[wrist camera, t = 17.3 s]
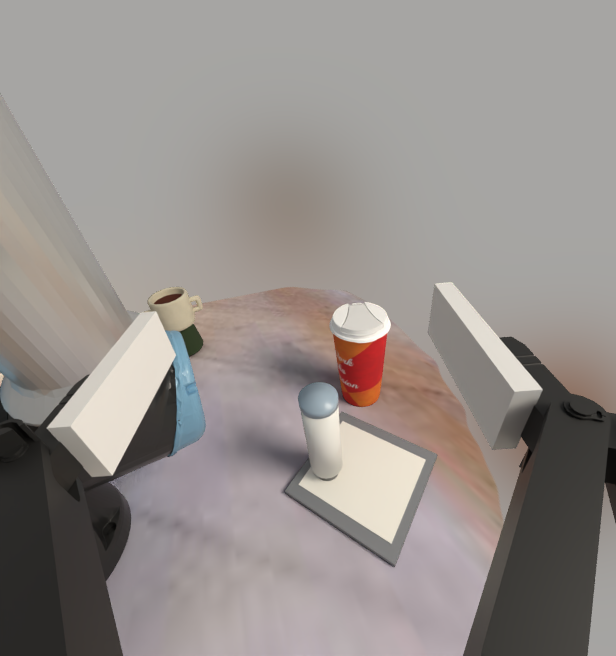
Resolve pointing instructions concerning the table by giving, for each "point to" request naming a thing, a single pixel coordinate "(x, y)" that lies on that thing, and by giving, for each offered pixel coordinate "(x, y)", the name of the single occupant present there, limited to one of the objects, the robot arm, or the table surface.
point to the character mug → (178, 314)
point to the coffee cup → (360, 350)
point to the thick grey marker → (322, 429)
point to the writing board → (369, 487)
